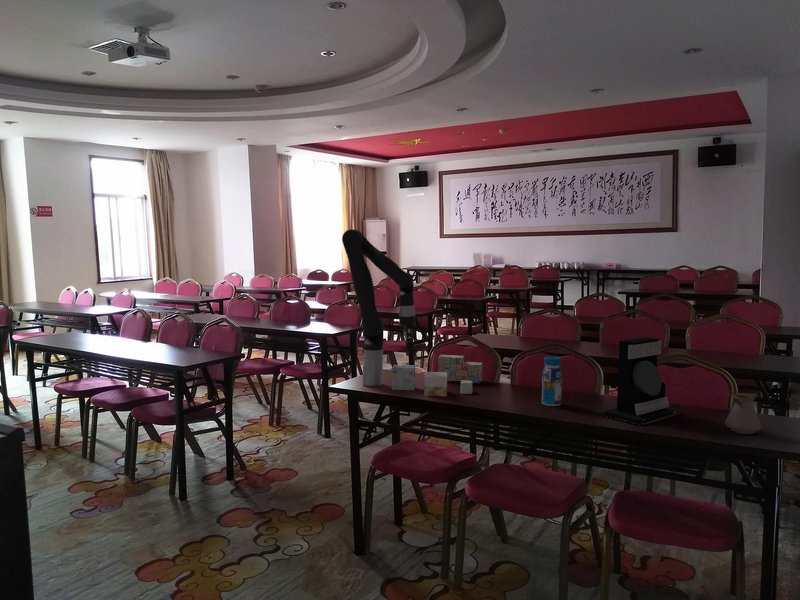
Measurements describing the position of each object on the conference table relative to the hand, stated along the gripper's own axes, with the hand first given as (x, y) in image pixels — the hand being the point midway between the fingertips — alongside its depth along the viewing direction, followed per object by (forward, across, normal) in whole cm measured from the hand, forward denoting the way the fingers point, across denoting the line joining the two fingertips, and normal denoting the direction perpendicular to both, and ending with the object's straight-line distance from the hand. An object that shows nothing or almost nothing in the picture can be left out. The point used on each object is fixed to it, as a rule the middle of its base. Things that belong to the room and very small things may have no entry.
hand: (408, 348), depth 286 cm
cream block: (+14, +15, +10) cm, 23 cm away
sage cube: (+20, +14, +24) cm, 34 cm away
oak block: (+19, +15, +10) cm, 26 cm away
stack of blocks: (+20, -10, +26) cm, 34 cm away
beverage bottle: (+21, +36, +56) cm, 71 cm away
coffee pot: (+25, +82, +110) cm, 139 cm away
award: (+23, +55, +87) cm, 106 cm away
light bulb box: (+18, +5, -4) cm, 19 cm away
